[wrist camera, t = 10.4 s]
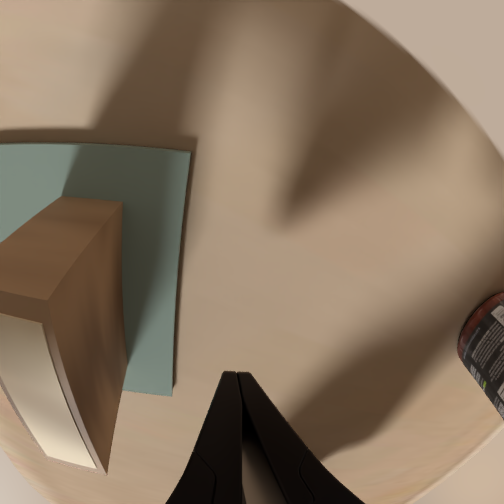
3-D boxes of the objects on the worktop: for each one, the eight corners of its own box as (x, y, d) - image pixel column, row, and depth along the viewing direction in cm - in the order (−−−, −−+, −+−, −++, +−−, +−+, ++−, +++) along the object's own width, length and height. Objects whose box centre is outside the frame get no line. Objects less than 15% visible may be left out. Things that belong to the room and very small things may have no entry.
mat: (172, 389, 15) (172, 396, 15) (-12, 350, 13) (-15, 355, 12) (191, 151, 10) (190, 153, 10) (-53, 146, 8) (-60, 149, 8)
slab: (127, 365, 13) (106, 476, 8) (80, 356, 13) (46, 460, 8) (122, 201, 10) (46, 302, 5) (61, 196, 10) (-42, 281, 4)
